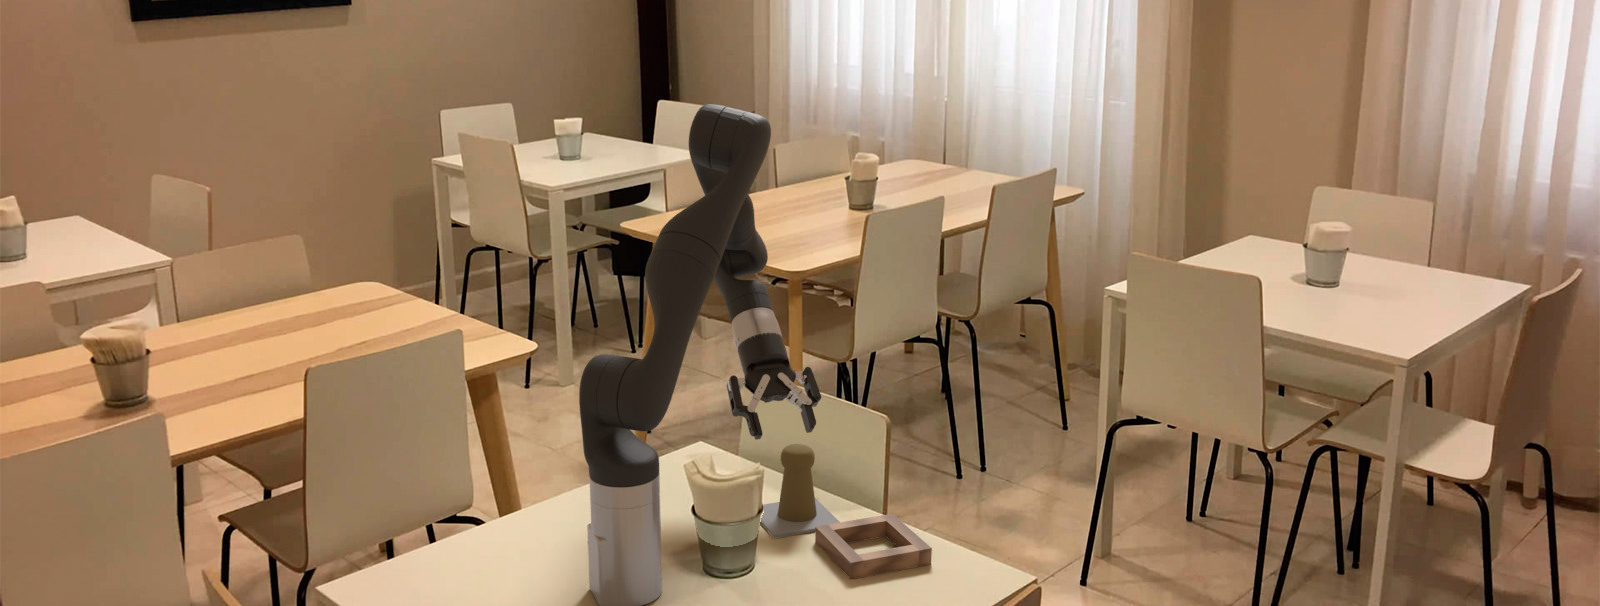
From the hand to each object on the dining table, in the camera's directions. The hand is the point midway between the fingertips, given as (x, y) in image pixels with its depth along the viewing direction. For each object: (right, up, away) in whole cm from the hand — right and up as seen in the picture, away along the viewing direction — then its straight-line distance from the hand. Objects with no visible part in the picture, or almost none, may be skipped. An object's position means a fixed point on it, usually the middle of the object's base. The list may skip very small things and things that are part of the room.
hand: (785, 433), depth 200 cm
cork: (+2, -12, 0) cm, 13 cm away
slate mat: (+1, -13, -1) cm, 13 cm away
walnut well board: (+13, -16, -12) cm, 24 cm away
